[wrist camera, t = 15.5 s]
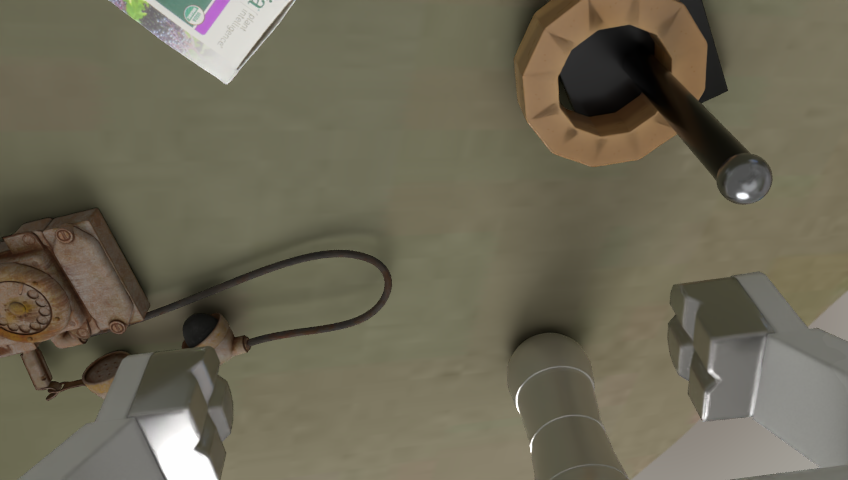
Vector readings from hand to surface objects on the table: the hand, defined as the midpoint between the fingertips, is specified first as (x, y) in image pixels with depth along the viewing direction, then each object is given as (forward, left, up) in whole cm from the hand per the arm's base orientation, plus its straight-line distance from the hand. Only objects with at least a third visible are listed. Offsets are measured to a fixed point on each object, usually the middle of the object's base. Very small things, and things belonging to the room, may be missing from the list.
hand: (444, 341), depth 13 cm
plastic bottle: (+4, +32, -33) cm, 46 cm away
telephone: (+27, +12, -33) cm, 44 cm away
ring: (-8, +11, -32) cm, 35 cm away
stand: (-10, +12, -33) cm, 37 cm away
